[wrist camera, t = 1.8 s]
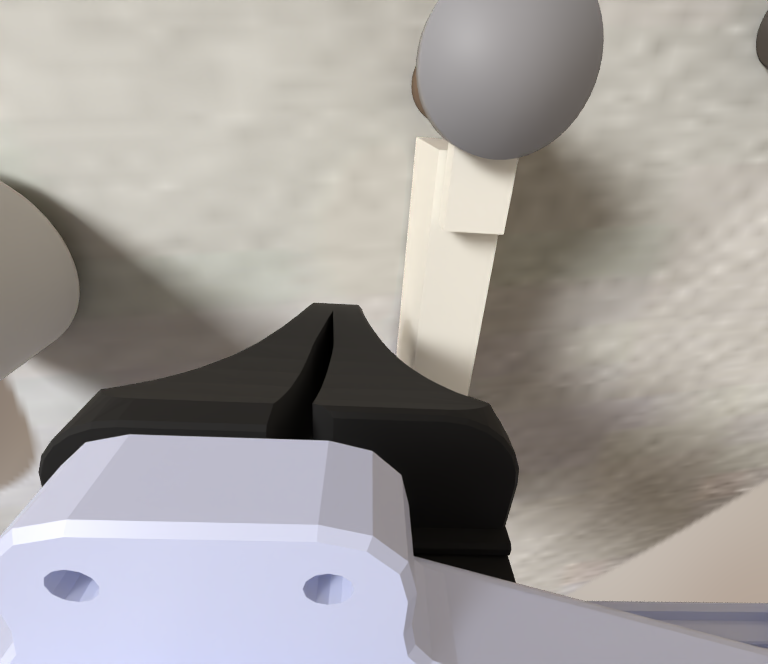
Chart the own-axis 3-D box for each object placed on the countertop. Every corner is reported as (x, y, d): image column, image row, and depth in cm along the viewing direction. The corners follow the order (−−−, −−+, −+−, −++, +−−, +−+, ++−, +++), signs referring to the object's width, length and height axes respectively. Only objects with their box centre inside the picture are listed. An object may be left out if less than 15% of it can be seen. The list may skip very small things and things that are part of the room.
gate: (402, 18, 11) (432, -66, 6) (506, 27, 11) (629, -47, 6) (375, 400, 17) (378, 536, 12) (445, 403, 17) (480, 538, 12)
